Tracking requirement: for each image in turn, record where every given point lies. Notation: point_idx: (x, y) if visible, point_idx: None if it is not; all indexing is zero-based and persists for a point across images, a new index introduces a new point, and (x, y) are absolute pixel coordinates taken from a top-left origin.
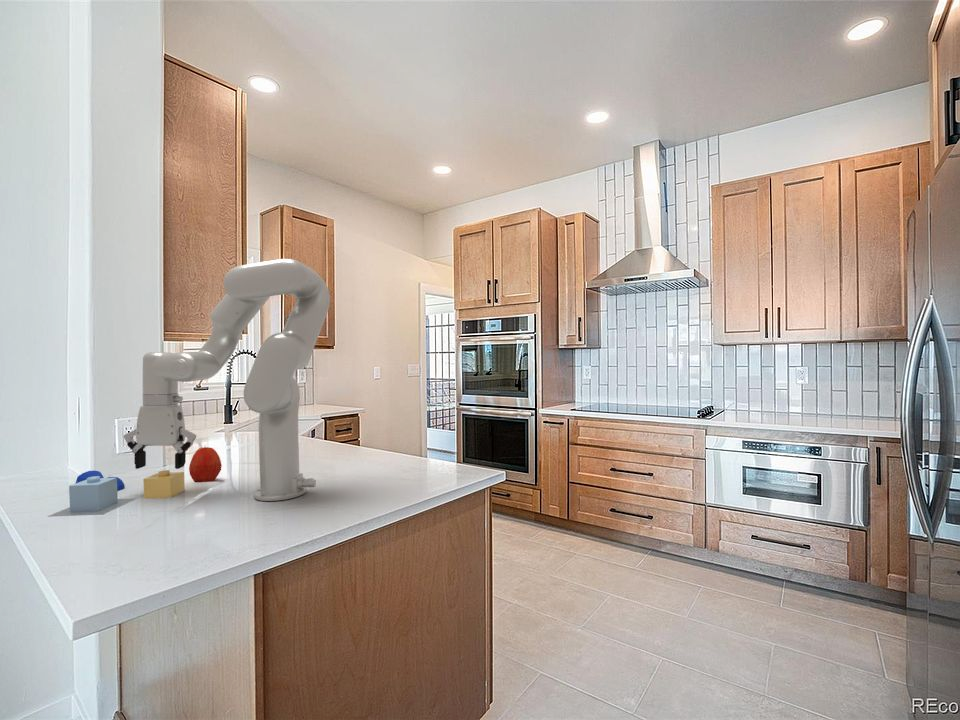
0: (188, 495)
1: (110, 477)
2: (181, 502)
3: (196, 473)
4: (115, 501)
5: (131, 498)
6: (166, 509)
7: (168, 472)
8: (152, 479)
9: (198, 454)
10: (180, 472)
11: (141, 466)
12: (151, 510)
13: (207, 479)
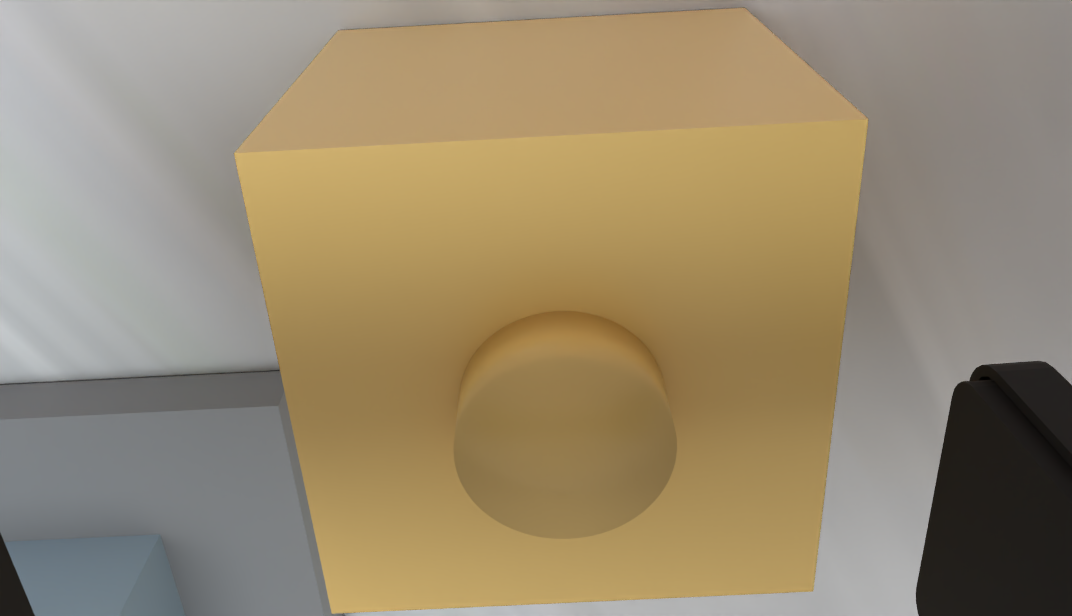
0: (829, 56)
1: None
2: (876, 373)
3: None
4: (162, 581)
5: (202, 408)
6: (818, 582)
7: (674, 448)
8: (495, 595)
9: None
10: (809, 176)
11: (12, 602)
12: (669, 600)
13: None
